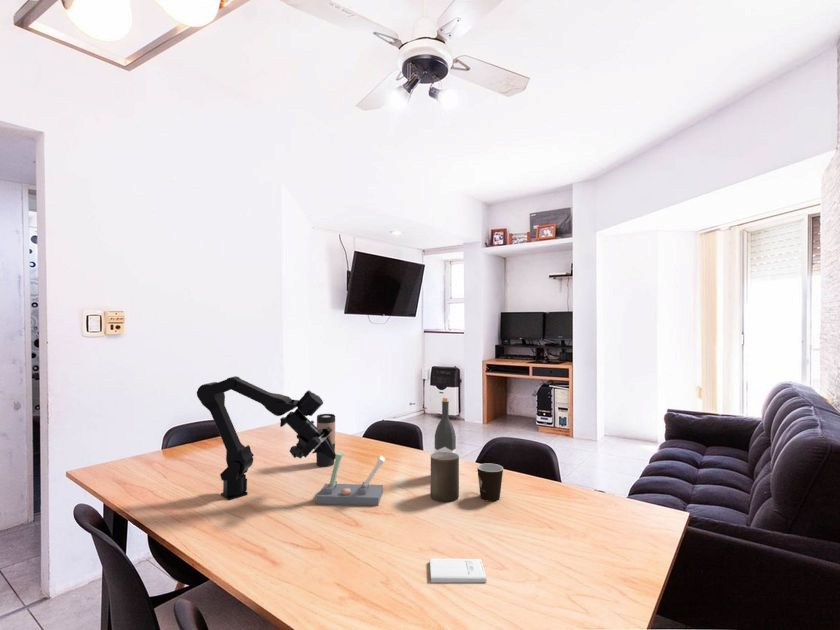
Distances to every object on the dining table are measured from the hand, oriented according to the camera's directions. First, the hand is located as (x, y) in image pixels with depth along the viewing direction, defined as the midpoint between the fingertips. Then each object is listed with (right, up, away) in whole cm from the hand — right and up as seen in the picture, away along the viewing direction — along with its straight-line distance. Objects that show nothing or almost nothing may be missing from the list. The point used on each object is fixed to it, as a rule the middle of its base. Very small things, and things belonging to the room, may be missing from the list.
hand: (335, 458), depth 141 cm
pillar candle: (+37, -13, +1) cm, 39 cm away
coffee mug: (+52, -14, +2) cm, 54 cm away
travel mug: (-11, -14, +34) cm, 38 cm away
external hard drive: (+37, -13, -43) cm, 58 cm away
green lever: (-1, -9, 0) cm, 9 cm away
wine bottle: (+38, -14, +21) cm, 45 cm away
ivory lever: (+10, -9, -1) cm, 13 cm away
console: (+5, -13, -1) cm, 14 cm away
